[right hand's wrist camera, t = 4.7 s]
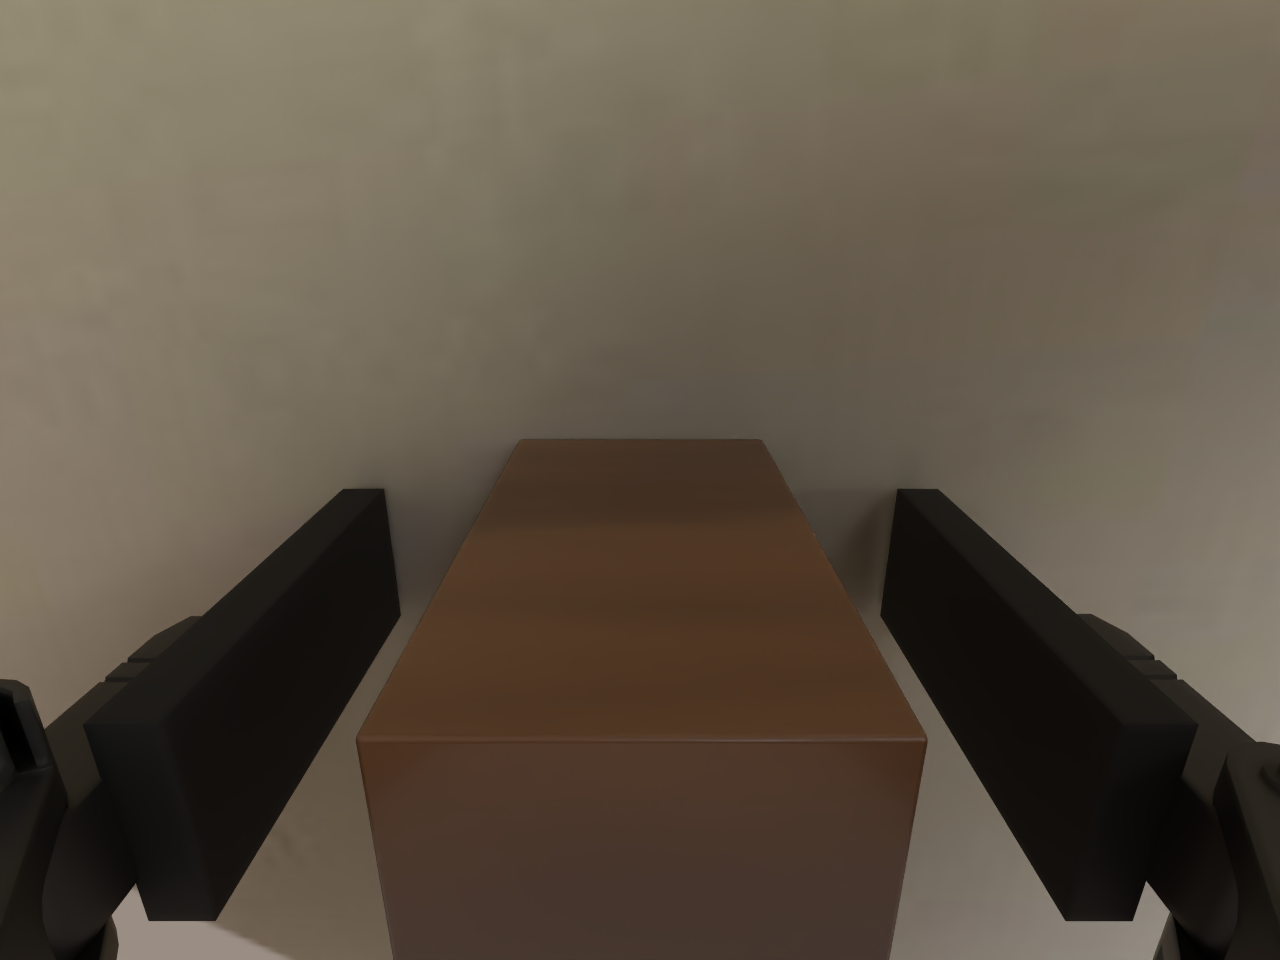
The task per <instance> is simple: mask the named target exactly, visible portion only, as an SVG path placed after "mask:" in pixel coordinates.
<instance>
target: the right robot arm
mask: <svg viewBox="0 0 1280 960" xmlns="http://www.w3.org/2000/svg"><path fill="white" fill-rule="evenodd" d="M400 616H401V614H400V606H399V599H398V592H397V584H396V577H395V569H394V562H393V555H392V547H391V540H390V533H389V525H388V518H387V511H386V503H385V496H384V489H343V490H342V491H341V492H339V493H338V494H337V495H336V496H335V497H334V498H333V499H332V500H331V501H329V502H328V503H327V504H326V505H325V506H324V507H323V508H322V509H321V510H319V511H318V512H317V513H316V514H315V515H314V516H313V517H312V518H311V519H309V520H308V521H307V522H306V523H305V524H304V525H303V526H302V527H301V528H300V529H298V530H297V531H296V532H295V533H294V534H293V535H292V536H291V537H290V538H288V539H287V540H286V541H285V542H284V543H283V544H282V545H281V546H280V547H278V548H277V549H276V550H275V551H274V552H273V553H272V554H271V555H270V556H269V557H267V558H266V559H265V560H264V561H263V562H262V563H261V564H260V565H259V566H257V567H256V568H255V569H254V570H253V571H252V572H251V573H250V574H249V575H247V576H246V577H245V578H244V579H243V580H242V581H241V582H240V583H239V584H237V585H236V586H235V587H234V588H233V589H232V590H231V591H230V592H229V593H228V594H226V595H225V596H224V597H223V598H222V599H221V600H220V601H219V602H218V603H216V604H215V605H214V606H213V607H212V608H211V609H210V610H209V611H208V612H206V613H205V614H204V615H203V616H190V617H189V618H187V619H185V620H183V621H181V622H179V623H177V624H175V625H173V626H171V627H170V628H168V629H166V630H164V631H162V632H160V633H158V634H156V635H154V636H153V637H152V638H151V639H150V640H149V641H147V642H146V643H145V644H144V645H143V646H141V647H140V648H139V649H138V650H137V651H136V652H134V653H133V654H132V655H131V656H130V657H129V658H128V661H127V663H122V664H120V665H119V666H118V667H117V668H116V669H115V670H113V671H112V672H111V673H110V674H109V675H107V676H106V677H105V682H99V683H98V684H97V685H96V686H95V687H93V688H92V689H91V690H90V691H89V692H88V693H86V694H85V695H84V696H83V697H82V698H81V699H79V700H78V701H77V702H76V703H75V704H74V705H72V706H71V707H70V708H69V709H68V710H66V711H65V712H64V713H63V714H62V715H61V716H59V717H58V718H57V719H56V720H55V721H54V722H52V723H51V724H50V725H49V726H48V727H47V728H45V729H44V728H43V725H42V722H41V719H40V716H39V714H38V711H37V708H36V705H35V703H34V700H33V697H32V694H31V692H30V689H29V687H28V686H26V685H24V684H22V683H21V682H19V681H17V680H6V679H0V960H116V959H117V953H118V946H119V944H118V937H117V930H116V927H115V924H114V921H113V919H112V916H111V915H112V914H113V912H114V911H115V910H116V908H117V907H118V906H119V905H120V903H121V902H122V901H123V899H124V898H125V897H126V895H127V894H128V893H129V891H130V890H131V889H132V887H133V886H134V885H135V884H136V885H137V888H138V891H139V894H140V897H141V900H142V903H143V906H144V908H145V911H146V914H147V917H148V920H149V921H216V919H217V918H218V916H219V914H220V913H221V911H222V909H223V908H224V906H225V904H226V903H227V901H228V900H229V898H230V896H231V895H232V893H233V891H234V890H235V888H236V886H237V885H238V883H239V881H240V880H241V878H242V876H243V875H244V873H245V871H246V870H247V868H248V867H249V865H250V863H251V862H252V860H253V858H254V857H255V855H256V853H257V852H258V850H259V848H260V847H261V845H262V843H263V842H264V840H265V839H266V837H267V835H268V834H269V832H270V830H271V829H272V827H273V825H274V824H275V822H276V820H277V819H278V817H279V815H280V814H281V812H282V810H283V809H284V807H285V806H286V804H287V802H288V801H289V799H290V797H291V796H292V794H293V792H294V791H295V789H296V787H297V786H298V784H299V782H300V781H301V779H302V778H303V776H304V774H305V773H306V771H307V769H308V768H309V766H310V764H311V763H312V761H313V759H314V758H315V756H316V754H317V753H318V751H319V749H320V748H321V746H322V745H323V743H324V741H325V740H326V738H327V736H328V735H329V733H330V731H331V730H332V728H333V726H334V725H335V723H336V721H337V720H338V718H339V716H340V715H341V713H342V712H343V710H344V708H345V707H346V705H347V703H348V702H349V700H350V698H351V697H352V695H353V693H354V692H355V690H356V688H357V687H358V685H359V684H360V682H361V680H362V679H363V677H364V675H365V674H366V672H367V670H368V669H369V667H370V665H371V664H372V662H373V660H374V659H375V657H376V655H377V654H378V652H379V651H380V649H381V647H382V646H383V644H384V642H385V641H386V639H387V637H388V636H389V634H390V632H391V631H392V629H393V627H394V626H395V624H396V623H397V621H398V619H399V618H400ZM880 616H881V617H882V619H883V621H884V622H885V624H886V626H887V627H888V629H889V631H890V632H891V634H892V636H893V637H894V639H895V641H896V642H897V644H898V646H899V647H900V649H901V650H902V652H903V654H904V655H905V657H906V659H907V660H908V662H909V664H910V665H911V667H912V669H913V670H914V672H915V674H916V675H917V677H918V678H919V680H920V682H921V683H922V685H923V687H924V688H925V690H926V692H927V693H928V695H929V697H930V698H931V700H932V702H933V703H934V705H935V707H936V708H937V710H938V711H939V713H940V715H941V716H942V718H943V720H944V721H945V723H946V725H947V726H948V728H949V730H950V731H951V733H952V735H953V736H954V738H955V739H956V741H957V743H958V744H959V746H960V748H961V749H962V751H963V753H964V754H965V756H966V758H967V759H968V761H969V763H970V764H971V766H972V768H973V769H974V771H975V772H976V774H977V776H978V777H979V779H980V781H981V782H982V784H983V786H984V787H985V789H986V791H987V792H988V794H989V796H990V797H991V799H992V800H993V802H994V804H995V805H996V807H997V809H998V810H999V812H1000V814H1001V815H1002V817H1003V819H1004V820H1005V822H1006V824H1007V825H1008V827H1009V829H1010V830H1011V832H1012V833H1013V835H1014V837H1015V838H1016V840H1017V842H1018V843H1019V845H1020V847H1021V848H1022V850H1023V852H1024V853H1025V855H1026V857H1027V858H1028V860H1029V861H1030V863H1031V865H1032V866H1033V868H1034V870H1035V871H1036V873H1037V875H1038V876H1039V878H1040V880H1041V881H1042V883H1043V885H1044V886H1045V888H1046V890H1047V891H1048V893H1049V894H1050V896H1051V898H1052V899H1053V901H1054V903H1055V904H1056V906H1057V908H1058V909H1059V911H1060V913H1061V914H1062V916H1063V918H1064V919H1065V921H1133V918H1134V915H1135V912H1136V909H1137V906H1138V903H1139V900H1140V897H1141V894H1142V892H1143V889H1144V886H1145V883H1146V881H1147V882H1148V883H1149V885H1150V886H1151V887H1152V889H1153V890H1154V891H1155V893H1156V894H1157V895H1158V896H1159V898H1160V899H1161V900H1162V902H1163V903H1164V904H1165V906H1166V907H1167V908H1168V909H1169V911H1170V913H1169V916H1168V919H1167V921H1166V924H1165V927H1164V930H1163V932H1162V935H1161V938H1160V941H1159V943H1158V946H1157V949H1156V952H1155V955H1154V957H1153V960H1280V745H1278V744H1272V743H1267V742H1256V741H1254V740H1253V739H1252V738H1251V737H1250V736H1249V735H1247V734H1246V733H1245V732H1244V731H1243V730H1241V729H1240V728H1239V727H1238V726H1237V725H1236V724H1234V723H1233V722H1232V721H1231V720H1230V719H1228V718H1227V717H1226V716H1225V715H1224V714H1223V713H1221V712H1220V711H1219V710H1218V709H1217V708H1215V707H1214V706H1213V705H1212V704H1211V703H1210V702H1208V701H1207V700H1206V699H1205V698H1204V697H1202V696H1201V695H1200V694H1199V693H1198V692H1197V691H1195V690H1194V689H1193V688H1192V687H1191V686H1189V685H1188V684H1187V683H1186V682H1185V681H1184V680H1178V679H1177V675H1176V674H1175V673H1174V672H1173V671H1172V670H1171V669H1169V668H1168V667H1167V666H1166V665H1165V664H1163V663H1162V662H1161V661H1160V660H1155V659H1154V655H1153V654H1152V653H1151V652H1149V651H1148V650H1147V649H1146V648H1145V647H1143V646H1142V645H1141V644H1140V643H1139V642H1138V641H1136V640H1135V639H1134V638H1133V637H1132V636H1130V635H1129V634H1128V633H1126V632H1124V631H1123V630H1121V629H1119V628H1117V627H1115V626H1113V625H1111V624H1109V623H1107V622H1105V621H1103V620H1102V619H1100V618H1098V617H1096V616H1094V615H1092V614H1076V613H1075V612H1074V611H1072V610H1071V609H1070V608H1069V607H1068V606H1067V605H1066V604H1065V603H1064V602H1063V601H1061V600H1060V599H1059V598H1058V597H1057V596H1056V595H1055V594H1054V593H1053V592H1051V591H1050V590H1049V589H1048V588H1047V587H1046V586H1045V585H1044V584H1043V583H1041V582H1040V581H1039V580H1038V579H1037V578H1036V577H1035V576H1034V575H1033V574H1031V573H1030V572H1029V571H1028V570H1027V569H1026V568H1025V567H1024V566H1023V565H1022V564H1020V563H1019V562H1018V561H1017V560H1016V559H1015V558H1014V557H1013V556H1012V555H1010V554H1009V553H1008V552H1007V551H1006V550H1005V549H1004V548H1003V547H1002V546H1000V545H999V544H998V543H997V542H996V541H995V540H994V539H993V538H992V537H990V536H989V535H988V534H987V533H986V532H985V531H984V530H983V529H982V528H981V527H979V526H978V525H977V524H976V523H975V522H974V521H973V520H972V519H971V518H969V517H968V516H967V515H966V514H965V513H964V512H963V511H962V510H961V509H959V508H958V507H957V506H956V505H955V504H954V503H953V502H952V501H951V500H949V499H948V498H947V497H946V496H945V495H944V494H943V493H942V492H941V491H940V490H938V489H898V490H897V497H896V504H895V512H894V519H893V526H892V534H891V541H890V548H889V556H888V563H887V570H886V578H885V585H884V592H883V600H882V607H881V614H880Z"/></svg>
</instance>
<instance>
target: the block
mask: <svg viewBox="0 0 1280 960" xmlns="http://www.w3.org/2000/svg"><path fill="white" fill-rule="evenodd" d="M356 744H357V750H358V756H359V761H360V767H361V773H362V779H363V785H364V790H365V796H366V802H367V808H368V813H369V819H370V825H371V831H372V837H373V842H374V848H375V854H376V860H377V866H378V871H379V877H380V883H381V889H382V895H383V900H384V906H385V912H386V918H387V924H388V929H389V935H390V941H391V947H392V953H393V958H394V960H889V958H890V952H891V946H892V941H893V935H894V929H895V924H896V918H897V912H898V907H899V901H900V895H901V890H902V884H903V878H904V872H905V867H906V861H907V855H908V850H909V844H910V838H911V833H912V827H913V821H914V816H915V810H916V804H917V798H918V793H919V787H920V781H921V776H922V770H923V764H924V759H925V753H926V747H927V736H926V734H925V732H924V730H923V728H922V727H921V725H920V723H919V721H918V719H917V718H916V716H915V714H914V712H913V710H912V709H911V707H910V705H909V703H908V702H907V700H906V698H905V696H904V694H903V693H902V691H901V689H900V687H899V685H898V684H897V682H896V680H895V678H894V676H893V675H892V673H891V671H890V669H889V667H888V666H887V664H886V662H885V660H884V658H883V657H882V655H881V653H880V651H879V649H878V648H877V646H876V644H875V642H874V640H873V639H872V637H871V635H870V633H869V631H868V630H867V628H866V626H865V624H864V622H863V621H862V619H861V617H860V615H859V613H858V612H857V610H856V608H855V606H854V604H853V603H852V601H851V599H850V597H849V595H848V594H847V592H846V590H845V588H844V587H843V585H842V583H841V581H840V579H839V578H838V576H837V574H836V572H835V570H834V569H833V567H832V565H831V563H830V561H829V560H828V558H827V556H826V554H825V552H824V551H823V549H822V547H821V545H820V543H819V542H818V540H817V538H816V536H815V534H814V533H813V531H812V529H811V527H810V525H809V524H808V522H807V520H806V518H805V516H804V515H803V513H802V511H801V509H800V507H799V506H798V504H797V502H796V500H795V498H794V497H793V495H792V493H791V491H790V489H789V488H788V486H787V484H786V482H785V480H784V479H783V477H782V475H781V473H780V472H779V470H778V468H777V466H776V464H775V463H774V461H773V459H772V457H771V455H770V454H769V452H768V450H767V448H766V446H765V445H764V443H763V441H762V440H520V441H519V443H518V445H517V446H516V448H515V450H514V452H513V454H512V455H511V457H510V459H509V461H508V463H507V464H506V466H505V468H504V470H503V472H502V474H501V475H500V477H499V479H498V481H497V483H496V484H495V486H494V488H493V490H492V492H491V493H490V495H489V497H488V499H487V501H486V503H485V504H484V506H483V508H482V510H481V512H480V513H479V515H478V517H477V519H476V521H475V522H474V524H473V526H472V528H471V530H470V531H469V533H468V535H467V537H466V539H465V541H464V542H463V544H462V546H461V548H460V550H459V551H458V553H457V555H456V557H455V559H454V560H453V562H452V564H451V566H450V568H449V570H448V571H447V573H446V575H445V577H444V579H443V580H442V582H441V584H440V586H439V588H438V589H437V591H436V593H435V595H434V597H433V598H432V600H431V602H430V604H429V606H428V608H427V609H426V611H425V613H424V615H423V617H422V618H421V620H420V622H419V624H418V626H417V627H416V629H415V631H414V633H413V635H412V637H411V638H410V640H409V642H408V644H407V646H406V647H405V649H404V651H403V653H402V655H401V656H400V658H399V660H398V662H397V664H396V665H395V667H394V669H393V671H392V673H391V675H390V676H389V678H388V680H387V682H386V684H385V685H384V687H383V689H382V691H381V693H380V694H379V696H378V698H377V700H376V702H375V704H374V705H373V707H372V709H371V711H370V713H369V714H368V716H367V718H366V720H365V722H364V723H363V725H362V727H361V729H360V731H359V732H358V734H357V737H356Z"/></svg>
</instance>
